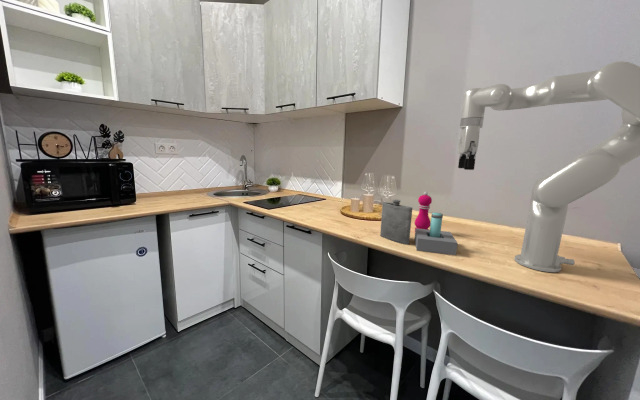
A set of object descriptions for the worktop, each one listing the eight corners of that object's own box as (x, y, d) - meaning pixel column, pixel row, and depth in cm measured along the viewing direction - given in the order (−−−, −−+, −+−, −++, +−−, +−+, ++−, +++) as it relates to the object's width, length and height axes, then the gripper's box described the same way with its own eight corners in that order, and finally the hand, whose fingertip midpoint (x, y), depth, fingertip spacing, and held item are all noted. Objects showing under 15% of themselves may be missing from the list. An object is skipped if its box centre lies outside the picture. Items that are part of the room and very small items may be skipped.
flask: (405, 245, 105) (409, 203, 101) (377, 236, 115) (380, 197, 112) (410, 243, 107) (414, 202, 103) (382, 234, 118) (385, 196, 114)
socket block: (448, 243, 109) (450, 231, 108) (455, 255, 96) (457, 242, 95) (414, 239, 113) (415, 228, 112) (416, 250, 99) (417, 238, 99)
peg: (438, 245, 105) (441, 213, 103) (439, 249, 102) (443, 215, 99) (427, 244, 107) (431, 212, 104) (428, 247, 103) (432, 214, 100)
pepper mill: (426, 230, 126) (431, 190, 122) (431, 235, 119) (436, 193, 115) (412, 229, 127) (415, 190, 123) (415, 234, 120) (420, 192, 116)
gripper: (455, 126, 105) (450, 167, 108) (466, 121, 89) (460, 169, 92) (475, 126, 103) (470, 168, 106) (490, 120, 87) (483, 170, 90)
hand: (465, 168), depth 99 cm, fingers open, 9 cm apart
